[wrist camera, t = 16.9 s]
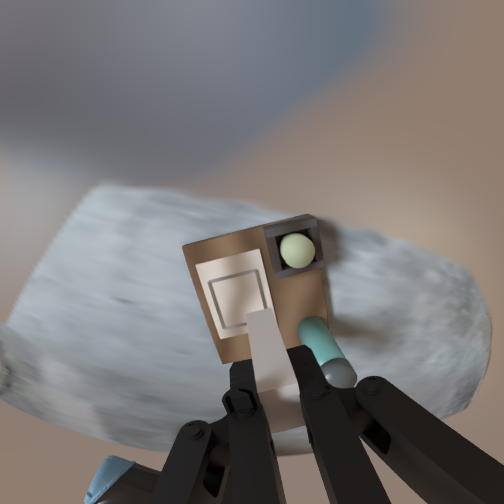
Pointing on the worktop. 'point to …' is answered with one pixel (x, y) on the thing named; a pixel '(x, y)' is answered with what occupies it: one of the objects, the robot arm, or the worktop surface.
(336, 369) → the marker
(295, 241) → the button
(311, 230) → the clipboard
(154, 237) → the worktop surface
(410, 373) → the worktop surface
